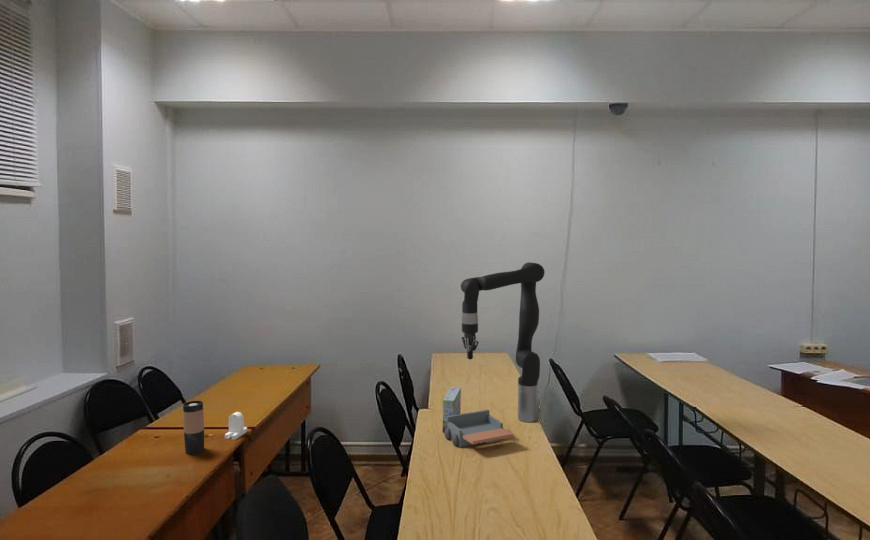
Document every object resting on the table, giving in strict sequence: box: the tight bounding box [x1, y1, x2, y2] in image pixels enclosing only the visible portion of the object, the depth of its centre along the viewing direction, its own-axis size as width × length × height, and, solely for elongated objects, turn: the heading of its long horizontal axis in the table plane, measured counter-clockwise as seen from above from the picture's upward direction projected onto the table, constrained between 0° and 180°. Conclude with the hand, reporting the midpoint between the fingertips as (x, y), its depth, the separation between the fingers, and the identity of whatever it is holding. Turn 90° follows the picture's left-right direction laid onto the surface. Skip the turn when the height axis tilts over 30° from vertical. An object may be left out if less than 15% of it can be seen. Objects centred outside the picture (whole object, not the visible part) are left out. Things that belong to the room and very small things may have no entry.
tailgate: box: [463, 427, 514, 445], centre depth 215 cm, size 19×2×9 cm
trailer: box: [443, 409, 504, 448], centre depth 226 cm, size 23×13×9 cm, turn 114°
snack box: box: [442, 386, 462, 433], centre depth 241 cm, size 21×6×15 cm, turn 168°
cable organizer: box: [224, 411, 248, 441], centre depth 231 cm, size 5×10×10 cm, turn 168°
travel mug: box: [182, 400, 205, 455], centre depth 214 cm, size 8×8×20 cm
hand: (470, 358), depth 240 cm, fingers closed
